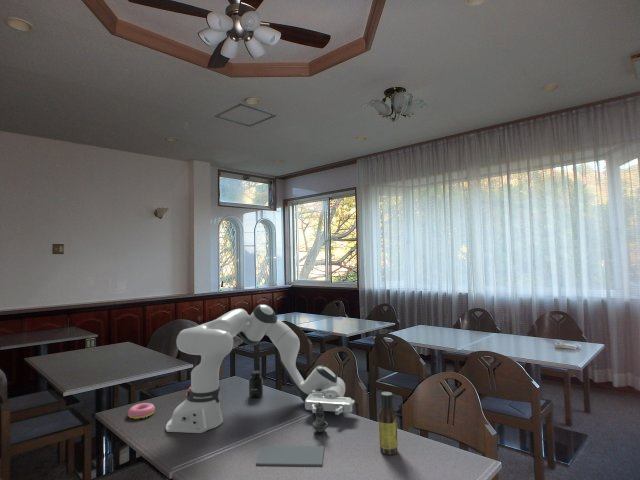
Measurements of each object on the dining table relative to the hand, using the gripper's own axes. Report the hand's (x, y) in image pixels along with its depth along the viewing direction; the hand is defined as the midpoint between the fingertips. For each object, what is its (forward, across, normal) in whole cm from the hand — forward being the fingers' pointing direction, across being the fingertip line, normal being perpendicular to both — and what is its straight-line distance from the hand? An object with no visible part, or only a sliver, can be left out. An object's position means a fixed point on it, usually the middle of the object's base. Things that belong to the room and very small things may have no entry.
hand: (325, 412), depth 158 cm
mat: (+26, +7, -4) cm, 27 cm away
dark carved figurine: (+7, +1, -5) cm, 9 cm away
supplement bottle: (-25, +40, -6) cm, 48 cm away
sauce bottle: (+16, -26, -5) cm, 31 cm away
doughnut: (+4, +82, -6) cm, 82 cm away
